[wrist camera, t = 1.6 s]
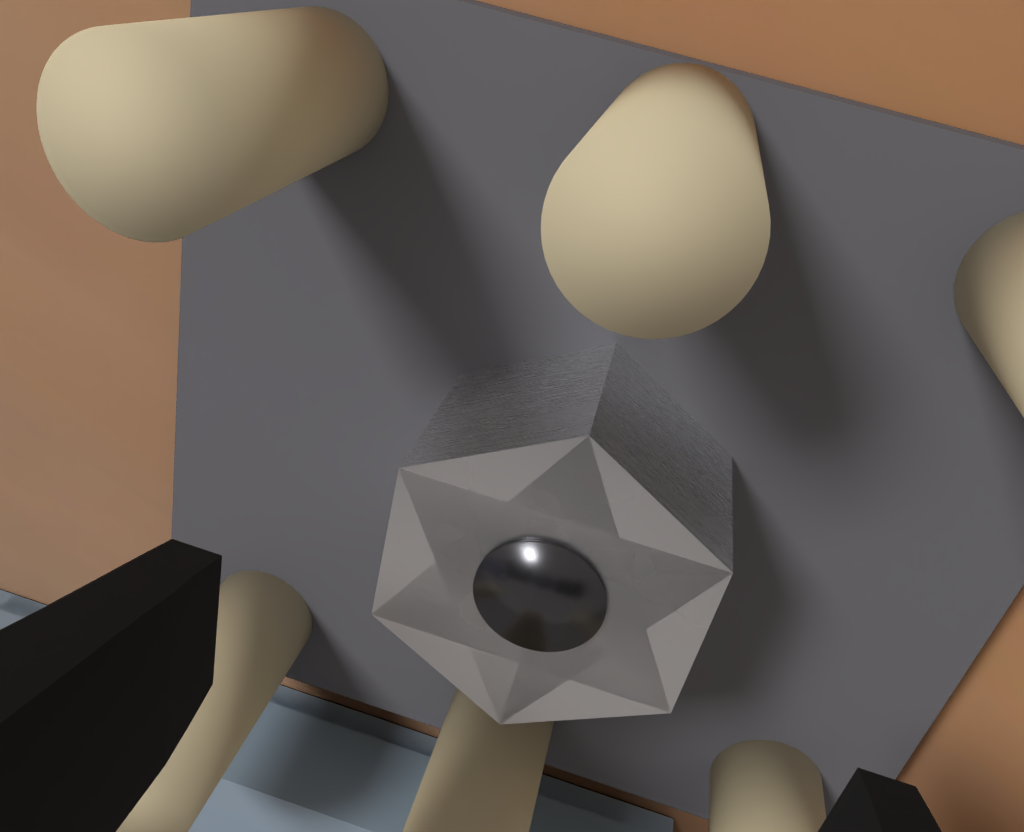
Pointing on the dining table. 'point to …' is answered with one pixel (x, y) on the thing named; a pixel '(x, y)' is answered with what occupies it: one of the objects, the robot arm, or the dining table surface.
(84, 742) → the robot arm
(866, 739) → the spacer field
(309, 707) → the tray
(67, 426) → the dining table surface
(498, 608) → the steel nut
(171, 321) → the dining table surface
